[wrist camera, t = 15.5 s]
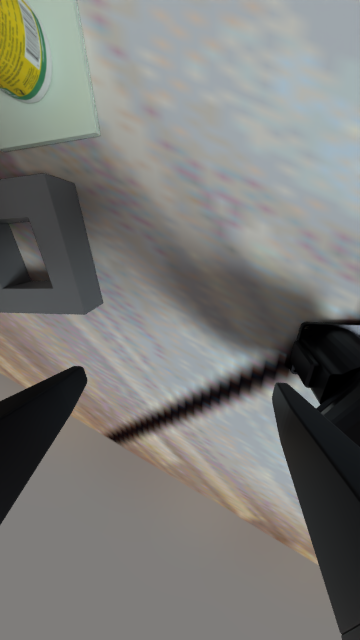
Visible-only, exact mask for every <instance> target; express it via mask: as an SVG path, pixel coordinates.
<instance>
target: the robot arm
mask: <svg viewBox="0 0 360 640" xmlns="http://www.w3.org/2000/svg"><path fill="white" fill-rule="evenodd" d="M306 326H308V328H307V329H305V327H306ZM290 361H291V366H290V371H291V372H292V373H293V374H298V375H299V377H300V379H301V381H302V382H303V384H304V385H305V386H306V387H307V388H311V390H312V391H313V393H314V395H315V396H316V398H317V400H318V401H319V403H320V404H321V405H320V406H319V407H318V408H315V407H313V406H312V405H311V404H310V403H309V402H308V401H307V400H306V399H304V398H303V397H302V396H301V395H300V394H299V393H298V392H296V391H295V390H294V389H293V388H292V387H291V386H290V385H288V384H287V383H279V382H277V383H276V384H275V387H274V391H273V396H272V402H273V407H274V412H275V417H276V422H277V427H278V432H279V437H280V441H281V445H282V448H283V451H284V455H285V458H286V461H287V464H288V467H289V471H290V474H291V477H292V480H293V483H294V487H295V490H296V493H297V496H298V499H299V503H300V506H301V509H302V512H303V515H304V519H305V522H306V525H307V528H308V531H309V535H310V538H311V541H312V544H313V547H314V550H315V554H316V557H317V560H318V563H319V566H320V570H321V573H322V576H323V579H324V582H325V586H326V589H327V592H328V595H329V598H330V601H331V605H332V608H333V611H334V614H335V618H336V621H337V624H338V627H339V630H340V633H341V634H342V636H341V637H342V640H360V324H354V323H317V322H305V323H303V324H301V326H300V330H299V334H298V338H297V341H295V342H294V346H293V350H292V354H291V358H290ZM294 369H295V370H294ZM86 384H87V377H86V374H85V371H84V368H83V367H81V366H73V367H71V368H69V369H67V370H65V371H62V372H60V373H58V374H56V375H54V376H52V377H50V378H48V379H46V380H44V381H42V382H40V383H37V384H35V385H33V386H31V387H29V388H27V389H25V390H23V391H21V392H19V393H17V394H15V395H13V396H10V397H8V398H6V399H4V400H2V401H0V524H1V523H2V521H3V520H4V518H5V517H6V515H7V514H8V512H9V510H10V509H11V507H12V505H13V504H14V502H15V501H16V499H17V498H18V496H19V495H20V493H21V491H22V490H23V488H24V487H25V485H26V484H27V482H28V481H29V479H30V477H31V476H32V474H33V473H34V471H35V470H36V468H37V466H38V464H39V463H40V462H41V460H42V458H43V457H44V455H45V454H46V452H47V451H48V449H49V448H50V446H51V444H52V443H53V441H54V440H55V438H56V436H57V435H58V433H59V432H60V430H61V428H62V427H63V425H64V424H65V422H66V420H67V419H68V417H69V416H70V414H71V413H72V411H73V409H74V407H75V405H76V403H77V401H78V399H79V397H80V396H81V394H82V392H83V390H84V388H85V386H86Z"/></svg>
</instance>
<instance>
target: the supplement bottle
mask: <svg viewBox="0 0 360 640" xmlns="http://www.w3.org/2000/svg"><path fill="white" fill-rule="evenodd" d="M51 79H52V55H51V49H50V45H49V41H48V38H47V35H46V32H45V30H44V27H43V25H42V23H41V21H40V19H39V17H38V16H37V14H36V12H35V11H34V9H33V8H32V7H31V5H30V4H29V3H28V2H27V0H0V90H2V91H3V92H5V93H6V94H8V95H10V96H11V97H13V98H14V99H17V100H19V101H22V102H24V103H35V102H38V101H40V100H41V99H42V98H43V97H44V96H45V94H46V93H47V91H48V89H49V86H50V84H51Z"/></svg>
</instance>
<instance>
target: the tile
mask: <svg viewBox="0 0 360 640" xmlns="http://www.w3.org/2000/svg"><path fill="white" fill-rule="evenodd" d="M27 2H28V3H29V4H30V5H31V7H32V8H33V9H34V11H35V12H36V14H37V16H38V17H39V19H40V21H41V23H42V25H43V27H44V30H45V32H46V35H47V38H48V41H49V45H50V49H51V55H52V79H51V84H50V86H49V89H48V91H47V93H46V94H45V96H44V97H43V98H42V99H41V100H40V101H38V102H35V103H24V102H22V101H19V100H17V99H14V98H13V97H11V96H10V95H8V94H6V93H5V92H3V91H2V90H0V151H3V152H7V151H13V150H19V149H25V148H31V147H37V146H43V145H49V144H55V143H61V142H67V141H73V140H79V139H85V138H91V137H97V136H100V130H99V124H98V119H97V113H96V107H95V102H94V96H93V90H92V85H91V79H90V73H89V68H88V62H87V56H86V51H85V45H84V39H83V34H82V28H81V22H80V17H79V11H78V5H77V0H27Z"/></svg>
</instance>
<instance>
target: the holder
mask: <svg viewBox="0 0 360 640" xmlns="http://www.w3.org/2000/svg"><path fill="white" fill-rule="evenodd" d="M29 221H30V224H31V226H32V229H33V232H34V235H35V238H36V241H37V244H38V246H39V249H40V252H41V255H42V258H43V261H44V264H45V266H46V269H47V272H48V275H49V278H50V281H31V280H30V277H29V275H28V272H27V270H26V267H25V265H24V262H23V259H22V257H21V254H20V252H19V249H18V247H17V244H16V242H15V239H14V237H13V234H12V232H11V229H10V227H9V224H8V223H17V222H29ZM101 304H103V300H102V296H101V292H100V287H99V283H98V279H97V275H96V271H95V267H94V263H93V258H92V254H91V250H90V246H89V242H88V238H87V234H86V229H85V225H84V221H83V217H82V213H81V209H80V205H79V200H78V196H77V192H76V188H75V184H74V183H72V182H69V181H66V180H63V179H60V178H57V177H54V176H51V175H48V174H45V173H42V174H35V175H27V176H20V177H12V178H5V179H0V312H4V313H44V314H83V315H85V314H87V313H88V312H90V311H92V310H93V309H95V308H96V307H98V306H99V305H101Z"/></svg>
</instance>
